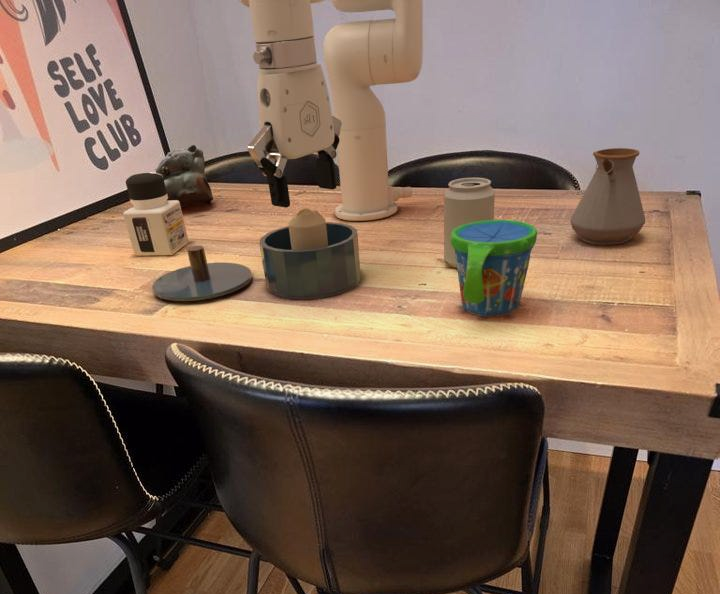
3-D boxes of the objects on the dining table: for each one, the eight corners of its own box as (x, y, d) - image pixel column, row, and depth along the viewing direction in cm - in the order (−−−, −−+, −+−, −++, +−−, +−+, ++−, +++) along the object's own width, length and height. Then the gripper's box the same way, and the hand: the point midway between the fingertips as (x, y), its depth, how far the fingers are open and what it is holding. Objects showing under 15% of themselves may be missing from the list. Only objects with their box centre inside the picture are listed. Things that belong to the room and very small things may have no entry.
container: (172, 255, 117) (153, 178, 110) (133, 256, 119) (112, 180, 111) (189, 242, 123) (172, 168, 116) (152, 243, 125) (133, 170, 117)
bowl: (343, 260, 108) (339, 216, 104) (374, 287, 96) (371, 239, 92) (258, 277, 104) (250, 232, 100) (280, 306, 93) (272, 258, 89)
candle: (296, 274, 102) (287, 208, 96) (330, 271, 102) (323, 204, 96) (296, 286, 98) (286, 218, 92) (332, 282, 98) (325, 214, 92)
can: (495, 255, 104) (499, 174, 97) (487, 271, 98) (490, 187, 91) (449, 254, 106) (450, 175, 99) (438, 269, 100) (438, 187, 93)
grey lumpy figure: (141, 214, 144) (129, 149, 142) (181, 222, 154) (171, 161, 152) (188, 195, 136) (177, 126, 134) (227, 205, 146) (217, 141, 144)
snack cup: (478, 283, 94) (481, 210, 88) (549, 293, 89) (556, 216, 83) (428, 323, 84) (426, 244, 78) (504, 337, 79) (509, 253, 73)
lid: (242, 263, 111) (235, 227, 107) (262, 292, 99) (255, 252, 95) (149, 280, 107) (139, 244, 103) (159, 312, 95) (148, 272, 91)
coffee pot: (574, 226, 113) (586, 130, 104) (645, 229, 109) (663, 129, 100) (550, 267, 98) (561, 158, 89) (631, 272, 93) (651, 158, 84)
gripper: (257, 66, 76) (280, 217, 87) (352, 47, 86) (362, 184, 96) (216, 66, 80) (243, 210, 91) (311, 48, 90) (325, 179, 101)
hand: (305, 196), depth 94 cm, fingers open, 9 cm apart
